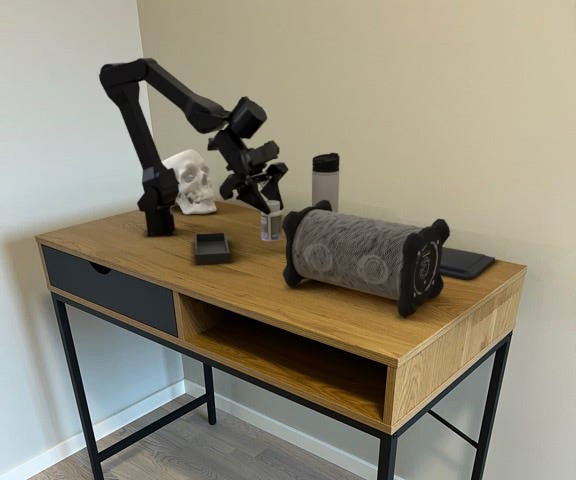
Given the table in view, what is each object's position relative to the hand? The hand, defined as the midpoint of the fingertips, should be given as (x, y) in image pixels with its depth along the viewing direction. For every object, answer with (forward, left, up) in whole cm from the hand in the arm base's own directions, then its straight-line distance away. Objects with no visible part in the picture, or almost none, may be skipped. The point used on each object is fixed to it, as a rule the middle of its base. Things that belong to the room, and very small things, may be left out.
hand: (275, 211), depth 132 cm
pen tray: (-15, +3, -9) cm, 18 cm away
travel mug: (+13, +6, -10) cm, 17 cm away
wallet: (+35, -13, -10) cm, 38 cm away
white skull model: (-21, +45, -10) cm, 50 cm away
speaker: (+13, -27, -10) cm, 31 cm away
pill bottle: (-1, +1, -7) cm, 7 cm away
